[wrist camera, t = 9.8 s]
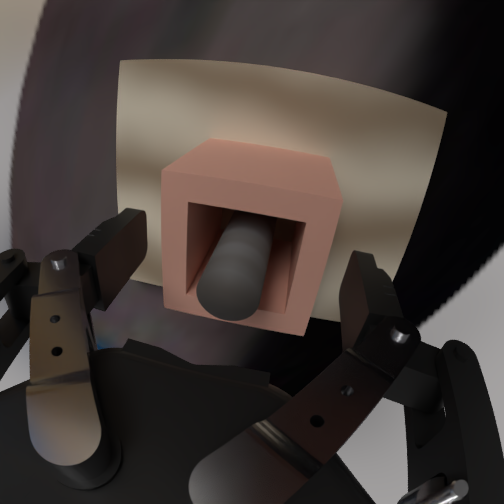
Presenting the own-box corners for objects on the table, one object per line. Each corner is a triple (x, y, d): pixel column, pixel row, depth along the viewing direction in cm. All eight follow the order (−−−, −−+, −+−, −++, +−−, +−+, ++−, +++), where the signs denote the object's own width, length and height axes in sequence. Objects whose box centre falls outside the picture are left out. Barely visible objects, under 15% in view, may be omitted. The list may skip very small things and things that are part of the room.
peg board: (133, 61, 15) (7, 67, 7) (436, 109, 14) (547, 149, 6) (133, 265, 22) (62, 360, 14) (369, 312, 21) (387, 432, 13)
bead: (209, 138, 15) (161, 170, 10) (329, 157, 15) (343, 200, 10) (202, 241, 18) (164, 307, 13) (306, 260, 18) (303, 336, 13)
